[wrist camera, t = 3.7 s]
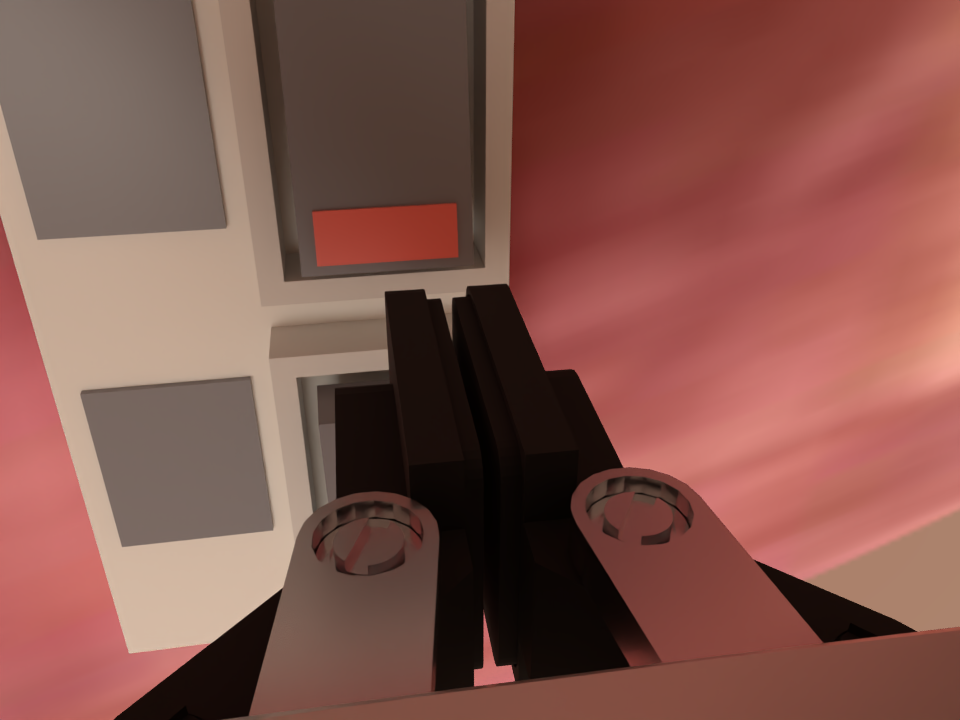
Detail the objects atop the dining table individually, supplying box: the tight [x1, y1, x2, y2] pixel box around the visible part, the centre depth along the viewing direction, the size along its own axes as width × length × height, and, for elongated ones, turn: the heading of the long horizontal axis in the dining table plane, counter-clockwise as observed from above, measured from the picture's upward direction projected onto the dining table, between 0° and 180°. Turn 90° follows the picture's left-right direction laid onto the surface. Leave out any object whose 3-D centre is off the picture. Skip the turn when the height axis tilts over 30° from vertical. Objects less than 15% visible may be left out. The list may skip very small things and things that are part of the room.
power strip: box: [0, 0, 515, 654], centre depth 17 cm, size 28×10×4 cm, turn 0°
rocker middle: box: [273, 0, 474, 277], centre depth 16 cm, size 5×3×1 cm, turn 0°
